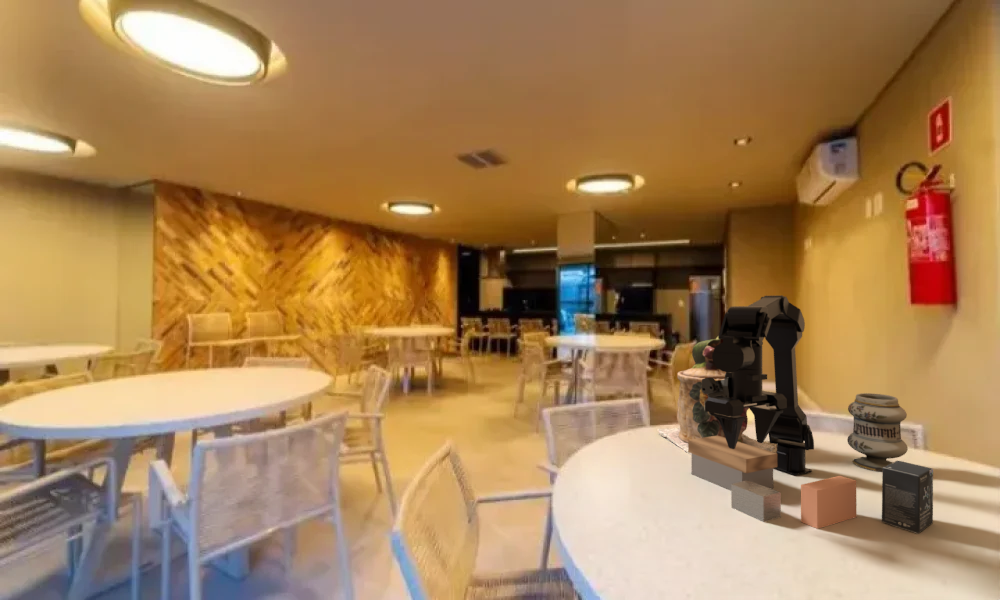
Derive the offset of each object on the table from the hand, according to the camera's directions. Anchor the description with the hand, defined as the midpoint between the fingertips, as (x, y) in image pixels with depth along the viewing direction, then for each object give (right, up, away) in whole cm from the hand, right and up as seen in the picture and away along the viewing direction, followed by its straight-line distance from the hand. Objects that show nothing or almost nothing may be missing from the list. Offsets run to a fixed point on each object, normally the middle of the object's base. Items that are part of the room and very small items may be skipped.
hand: (746, 445), depth 96 cm
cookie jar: (+13, -14, +45) cm, 49 cm away
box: (+27, -13, -6) cm, 31 cm away
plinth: (+4, -13, +15) cm, 20 cm away
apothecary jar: (+47, -13, +25) cm, 55 cm away
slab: (+4, -8, +15) cm, 17 cm away
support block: (+1, -13, -2) cm, 13 cm away
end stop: (+13, -13, -5) cm, 19 cm away
